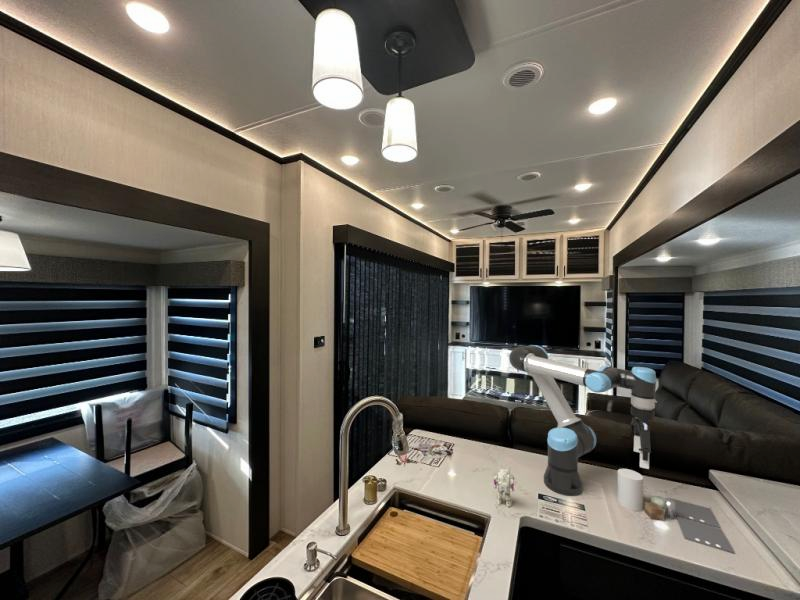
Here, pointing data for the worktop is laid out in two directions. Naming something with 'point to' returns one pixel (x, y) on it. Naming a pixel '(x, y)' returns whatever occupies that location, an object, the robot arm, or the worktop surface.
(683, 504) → the pad two
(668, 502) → the metal peg
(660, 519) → the walnut block
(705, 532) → the pad three
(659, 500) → the pale green domed piece
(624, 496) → the white cylinder
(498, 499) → the figurine
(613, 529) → the worktop surface
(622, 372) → the robot arm
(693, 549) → the worktop surface
